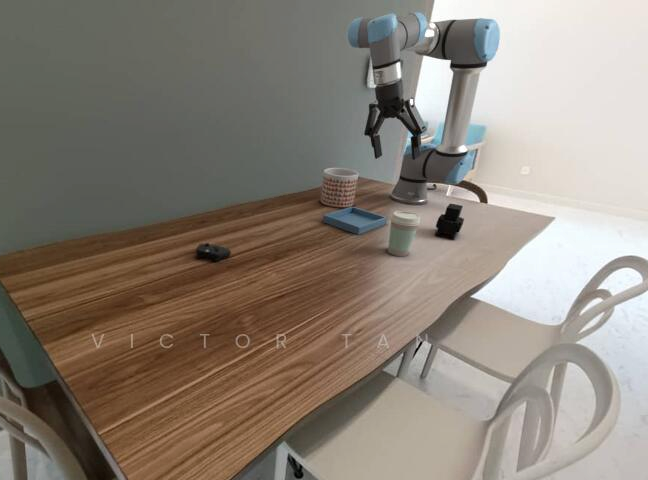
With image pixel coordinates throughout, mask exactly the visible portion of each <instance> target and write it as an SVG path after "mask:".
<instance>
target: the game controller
mask: <svg viewBox="0 0 648 480" xmlns="http://www.w3.org/2000/svg"><path fill="white" fill-rule="evenodd" d="M195 253H196V258H198V259H201V258H202V257H206V258H211V259H213V261H214V262H219V261H220V260H221V259H222V258H227V257H229V256H230V255H231V254H232V252H231V250H230V249H229V248H227V247H224V246H220V245H214V244H210V243H209V242H206V243H199V245H198V246H196V249H195Z"/></svg>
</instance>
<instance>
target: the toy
mask: <svg viewBox="0 0 648 480" xmlns="http://www.w3.org/2000/svg"><path fill="white" fill-rule="evenodd" d="M462 210H463V205H460V204H457V203H449V204H448V205H447V206H446V209H445V212H444V213H441V214H440V215H439V217H438V218H437V221H436V224H435V228H436V233H435V236H436V237H439V236H440V235H441V233H443V234H447V235H451V237H450V240H452V241H454V240H455V238H456V236H457V234H458V233H460V231H461V229H462V227H463V225H464V221H465V218H463V217H461V213H462Z"/></svg>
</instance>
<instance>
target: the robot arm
mask: <svg viewBox="0 0 648 480" xmlns="http://www.w3.org/2000/svg"><path fill="white" fill-rule="evenodd" d="M347 39H348V43H349V44H350V46H351V47H353V48H358V49H369V53H370V62H371V69H372V76H373V84H374V85H375V88H374V93H375V101H373V102H370V103H369V104H368V114H367V118H366V119H367V120H366V124H365V128H364V129H365V130H364V132H363V135H364V136H365V137H367V136H368V137H369V138H370V144H371V148H372V149H373V153H374V159H375V160H376V159H379V158H381V157H383V150H382V143H381V136H380V134H379V132H380V129H381V127H382V126H383V123H384V122H385V120H387V119H395V118H396V119H397V120H399V121H400V122H401V123H402V124H403V126H404V127H405V128H406V129H407V131H408V132H409V133H410V134H411V135H412V136H410V144H407V145H406V147H405V149H404V153H403V157H402V162H401V167H400V172H399V177H398V180H397V182H396V184H395V186H394V187H393V189H392V191H391V194H390V199H392V200H394V201H395V202H399V203H402V204H407V205H423V204H426V203H427V201H428V191H435V190H436V189H437V184H436V183H433V184H432V187H428V186H427V185H428V184H427V183H428V180H431V181H435V182H438V183H441V184H442V183H443V184H445V185H454V186H455V185H458V184H460V183H461V182H462V181H463V180H464V179H465V177H466V176H467V175H468V173H469V171H470V169H471V166H472V163H473V157H472V155H470V154H468V152H469V147H468V145H467V144H466V141H467V137H468V132H469V127H470V122H471V118H472V113H473V109H474V104H475V99H476V95H477V91H478V90H477V89H478V85H479V81H480V76H481V72H483V70H484V69H486V68H487V66H488V62H491V61H492V60H493V59H494V58H495V57H496V54H497V52H498V50H499V47H500V46H499V45H500V40H501V30H500V27H499V24H498V22H497V20H495V19H493V18H482V17H480V18H463V19H446V20H440V21H427V18H426V16H425V15H424V14H423V12H422V13H421V12H419V11H415V12H409V13H408V14H406V15H397V14H395V13H394V12H393V13H392V12H391V13H388V14H385V15H382V16H371V17H370V16H368V17H366V16H362V17H356V18H355V19H353V20H352V21H351V23H350V25H349V27H348V32H347ZM404 51H405V52H414V53H415V55H418V56H423V57H430V58H432V59H437V60H441V61H443V60H444V61H449V62H450V63H449V69H450V70H451V71H452V73H453V74H452V77H451V84H450V89H449V95H448V100H447V107H446V112H445V118H444V123H443V129H442V134H441V140H440V143H439V144H438V145H436V144H435V143H422V137H421V136H422V134H424V133H425V132H427V131H428V128H427V127H428V126H426V123H425V121H424V120H423V117H422V116H421V114H420V112H419V110H418V108H417V106H416V103H415V98H414V96H411V97H409V98H408V99H404V91H405V90H404V83H403V82H404V81H403V79H402V77H403V70H402V60H401V52H404ZM378 111H379V113H378ZM376 117H377V118H376Z"/></svg>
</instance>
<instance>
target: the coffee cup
mask: <svg viewBox="0 0 648 480" xmlns="http://www.w3.org/2000/svg"><path fill="white" fill-rule="evenodd" d="M419 225H421V218H420V215H419V214H418V213H415V212H413V211H408V210H395V211H394V212H393V213H392V215H391V216H390V227H389V228H390V230H389V238H388V247H387V248H388V249H387V252H388V253H389V254H391V255H393V256H397V257H406V256H407V255H408V253H409V250H410V249H411V247H412V246H411V245H412V243H413V241H414V238H415V235H416V233H417V230H418V227H419Z"/></svg>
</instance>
